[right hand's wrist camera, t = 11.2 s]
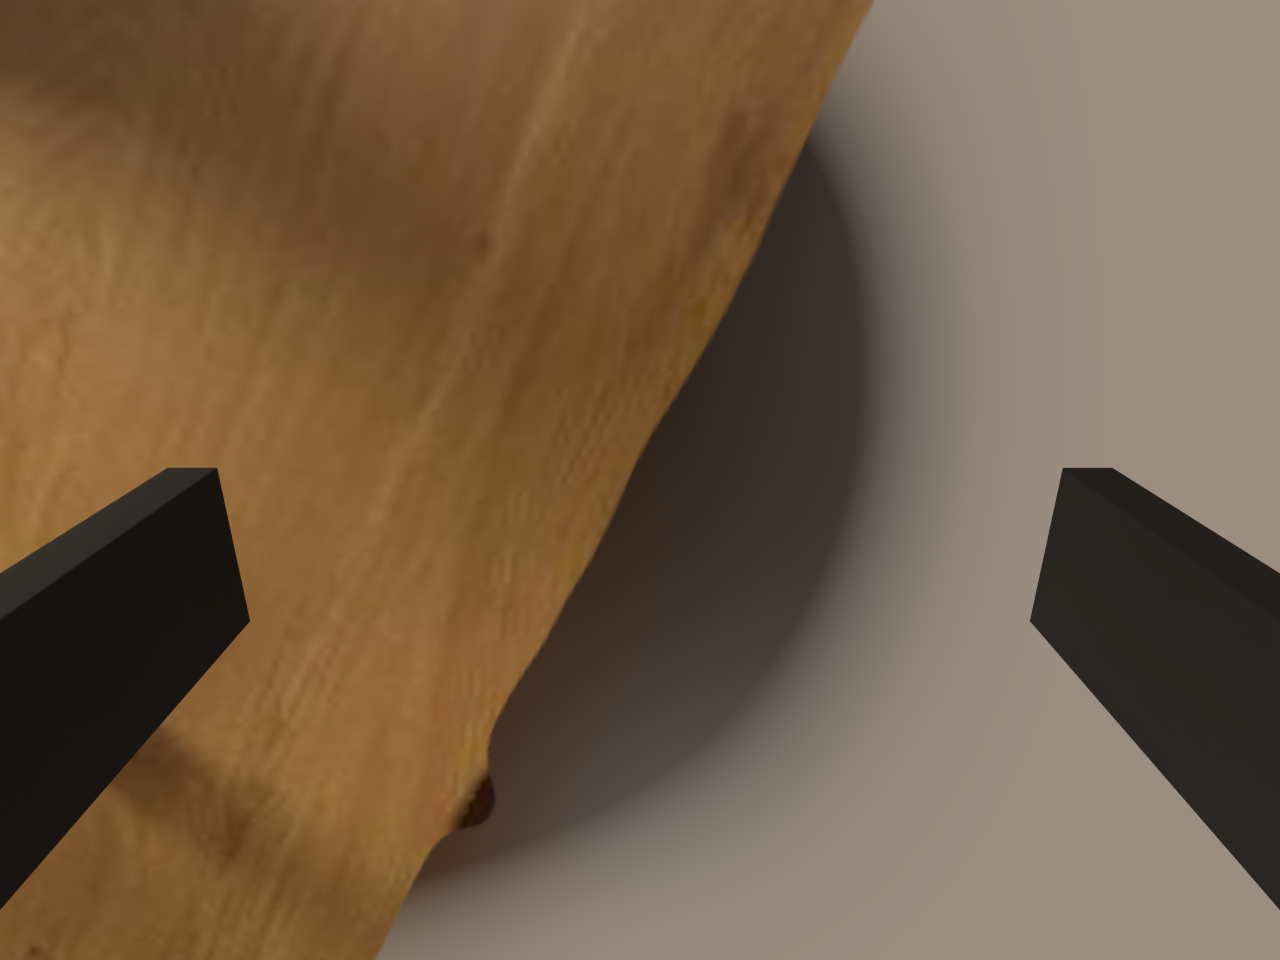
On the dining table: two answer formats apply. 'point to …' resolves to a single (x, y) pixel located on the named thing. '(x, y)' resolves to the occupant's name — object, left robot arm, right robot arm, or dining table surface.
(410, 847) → the dining table surface
